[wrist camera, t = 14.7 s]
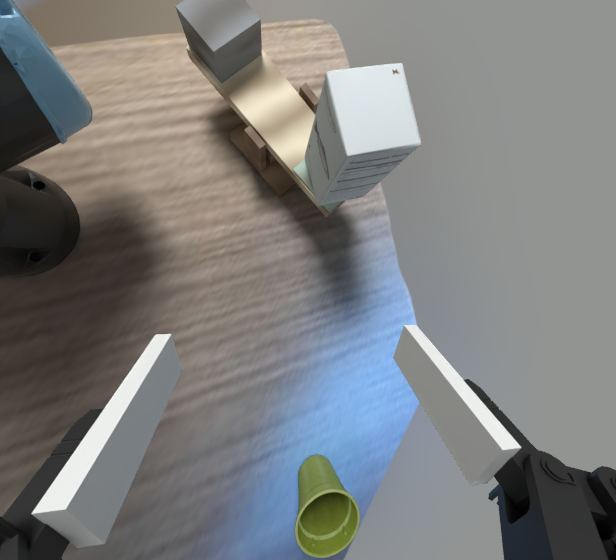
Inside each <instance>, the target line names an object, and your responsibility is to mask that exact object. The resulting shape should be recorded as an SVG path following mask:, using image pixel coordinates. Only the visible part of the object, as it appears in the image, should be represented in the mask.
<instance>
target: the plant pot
mask: <svg viewBox="0 0 616 560" xmlns="http://www.w3.org/2000/svg"><path fill="white" fill-rule="evenodd" d="M298 490H299V510H298V516H297V519H296V524H295V535H296V540H297V543H298V545H299V546H300V548H301V549H302V550H303V551H304V552H305V553H306V554H308V555H310V556H312V557H318V558H326V557H330V556H332V555H335V554H337V553H339V552H340V551H342V550H343V549H345V548H346V547H347V546H348V545H349V543H350V542H351V541H352V540H353V538H354V536H355V534H356V532H357V530H358V527H359V522H360V513H359V508H358V505H357V503H356V501H355V500H354V498H353V497H352V496H351V495H350V494H349V493H348V492H347V491H346V490H345V489H344V487H343V485H342V484H341V482H340V480H339V478H338V476H337V474H336V473H335V471H334V469H333V467H332V465H331V463H330V461H329V460H328V459H326V458H325V457H323V456H322V455H313V456H311V457H309V458H307V459H306V460H305V461H304V463H303V464H302V466H301V467H300V468H299V472H298Z"/></svg>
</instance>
